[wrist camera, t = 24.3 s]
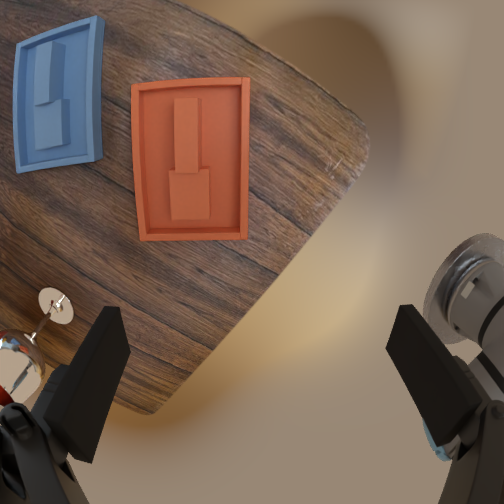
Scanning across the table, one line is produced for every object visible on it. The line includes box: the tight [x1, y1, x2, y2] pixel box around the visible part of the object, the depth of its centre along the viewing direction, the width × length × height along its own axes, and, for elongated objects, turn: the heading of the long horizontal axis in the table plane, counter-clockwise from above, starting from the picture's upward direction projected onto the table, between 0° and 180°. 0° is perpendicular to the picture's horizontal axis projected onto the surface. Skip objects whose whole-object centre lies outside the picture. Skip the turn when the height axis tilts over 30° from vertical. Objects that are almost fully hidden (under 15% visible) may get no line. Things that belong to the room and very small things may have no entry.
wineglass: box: [0, 287, 74, 407], centre depth 29 cm, size 8×8×18 cm
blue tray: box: [13, 16, 105, 174], centre depth 25 cm, size 12×17×2 cm
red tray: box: [131, 77, 250, 241], centre depth 29 cm, size 12×17×2 cm
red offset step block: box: [169, 97, 211, 220], centre depth 28 cm, size 12×4×3 cm, turn 179°
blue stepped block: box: [34, 41, 71, 150], centre depth 24 cm, size 12×4×3 cm, turn 179°
